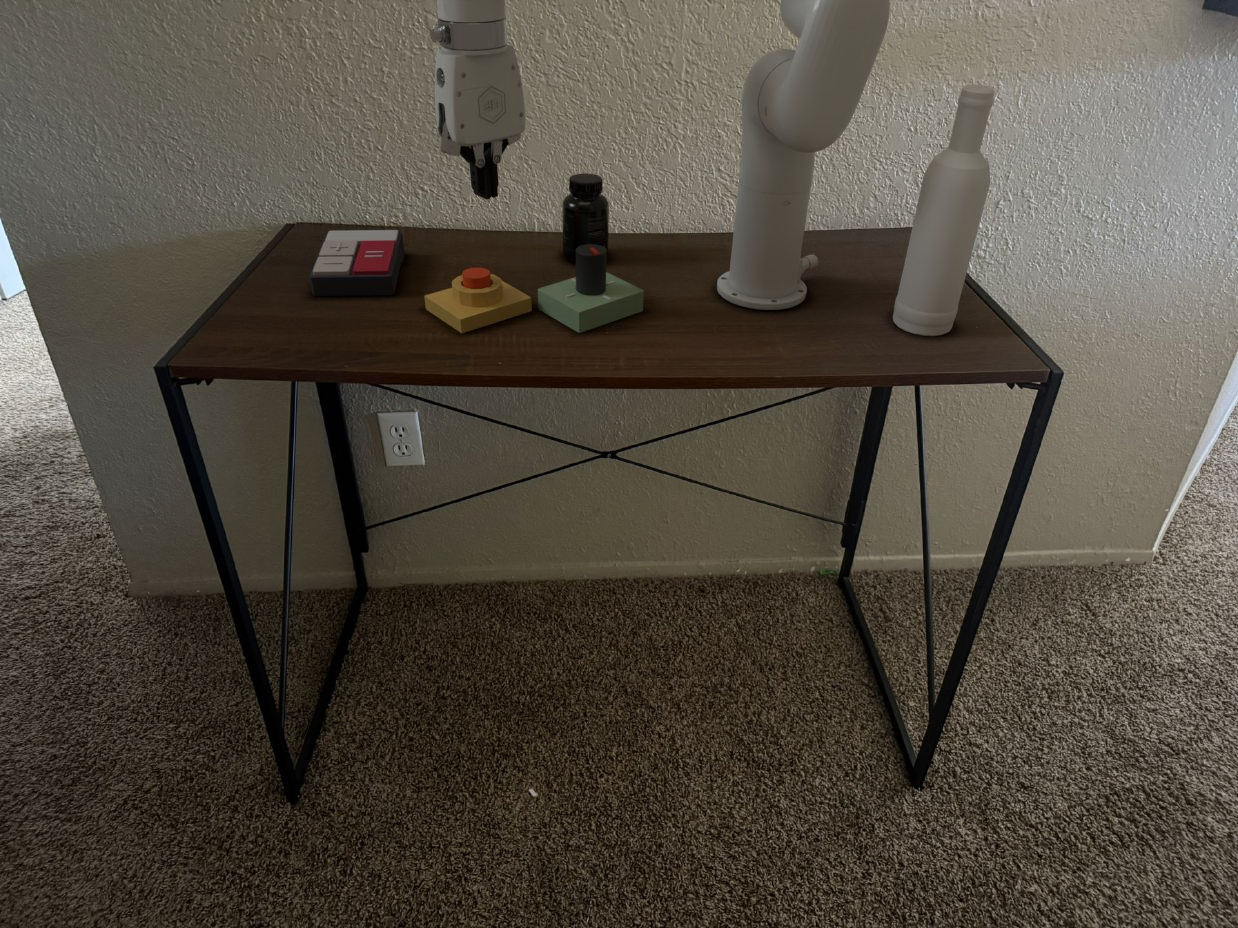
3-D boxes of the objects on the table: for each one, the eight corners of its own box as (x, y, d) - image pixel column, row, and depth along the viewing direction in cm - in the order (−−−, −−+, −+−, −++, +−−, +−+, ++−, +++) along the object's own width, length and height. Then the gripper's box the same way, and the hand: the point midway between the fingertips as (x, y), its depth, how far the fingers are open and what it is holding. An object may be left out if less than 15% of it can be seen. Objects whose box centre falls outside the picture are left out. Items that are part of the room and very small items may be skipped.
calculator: (307, 272, 121) (325, 226, 132) (313, 301, 123) (330, 253, 135) (391, 271, 122) (401, 225, 134) (394, 299, 124) (405, 253, 136)
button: (481, 277, 121) (480, 265, 120) (496, 286, 119) (495, 274, 118) (458, 284, 119) (457, 271, 118) (472, 293, 117) (472, 280, 116)
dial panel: (601, 289, 128) (601, 268, 126) (643, 311, 122) (644, 289, 120) (538, 309, 122) (537, 287, 120) (579, 333, 116) (579, 311, 114)
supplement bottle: (609, 250, 140) (611, 172, 133) (605, 267, 134) (607, 187, 127) (566, 247, 140) (565, 169, 133) (559, 264, 135) (559, 184, 128)
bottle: (955, 340, 117) (1020, 98, 100) (893, 333, 119) (946, 93, 101) (949, 314, 124) (1009, 82, 107) (890, 308, 125) (940, 77, 108)
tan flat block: (494, 289, 127) (492, 262, 124) (531, 311, 121) (531, 283, 119) (425, 309, 121) (422, 281, 119) (461, 333, 115) (459, 304, 113)
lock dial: (571, 285, 121) (570, 244, 118) (598, 281, 122) (598, 240, 119) (583, 297, 118) (583, 255, 115) (610, 292, 119) (611, 251, 116)
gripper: (433, 49, 96) (450, 217, 107) (546, 33, 104) (551, 191, 115) (398, 38, 101) (417, 200, 111) (509, 24, 109) (517, 176, 119)
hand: (485, 195), depth 113 cm, fingers closed
